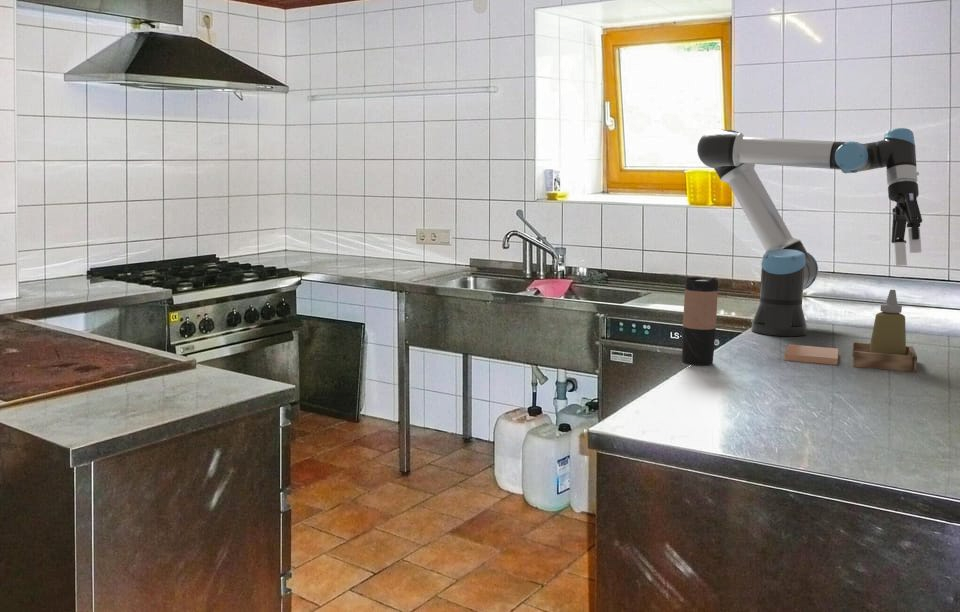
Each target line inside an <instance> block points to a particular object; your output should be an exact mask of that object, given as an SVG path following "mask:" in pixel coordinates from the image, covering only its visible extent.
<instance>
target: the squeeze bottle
mask: <svg viewBox="0 0 960 612" xmlns="http://www.w3.org/2000/svg"><path fill="white" fill-rule="evenodd" d="M897 299H898V298H897V292H896V289H889V292H888V295H887V298H886V301H885V303H881V304H880V311H881V312H880V311H879V312H877V314H875V318H874V321H873V322H874V323H873V329H872V333H871V338H870V342H869V343H870V351H871V352H872V353H884V354H896V355H904V354H905V351H906V346H907V344H906V343H907V340H906V339H907V338H906V316H905V314H902V311H903V306H902V305H901V304H898V300H897Z"/></svg>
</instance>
